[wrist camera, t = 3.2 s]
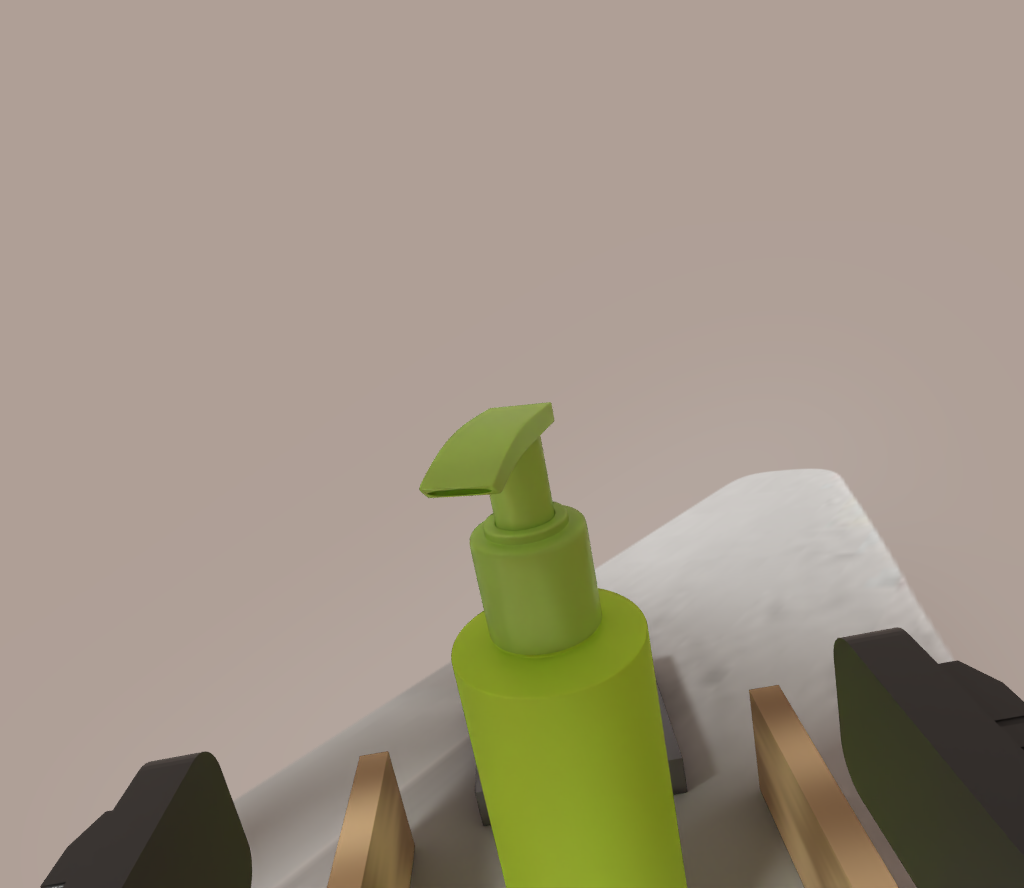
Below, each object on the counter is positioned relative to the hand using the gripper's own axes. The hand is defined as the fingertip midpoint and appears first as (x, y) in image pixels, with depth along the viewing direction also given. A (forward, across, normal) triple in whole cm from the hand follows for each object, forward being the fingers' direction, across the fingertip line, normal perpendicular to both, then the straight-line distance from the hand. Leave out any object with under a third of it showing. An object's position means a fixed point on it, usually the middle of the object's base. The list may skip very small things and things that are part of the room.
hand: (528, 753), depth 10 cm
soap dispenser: (+12, 0, +19) cm, 22 cm away
